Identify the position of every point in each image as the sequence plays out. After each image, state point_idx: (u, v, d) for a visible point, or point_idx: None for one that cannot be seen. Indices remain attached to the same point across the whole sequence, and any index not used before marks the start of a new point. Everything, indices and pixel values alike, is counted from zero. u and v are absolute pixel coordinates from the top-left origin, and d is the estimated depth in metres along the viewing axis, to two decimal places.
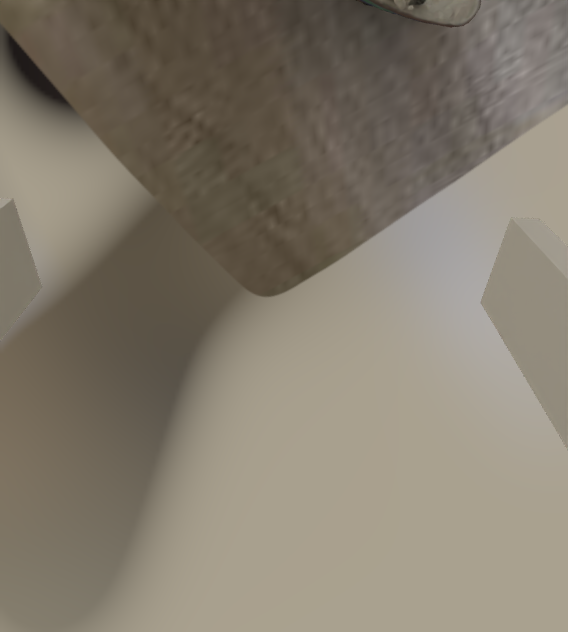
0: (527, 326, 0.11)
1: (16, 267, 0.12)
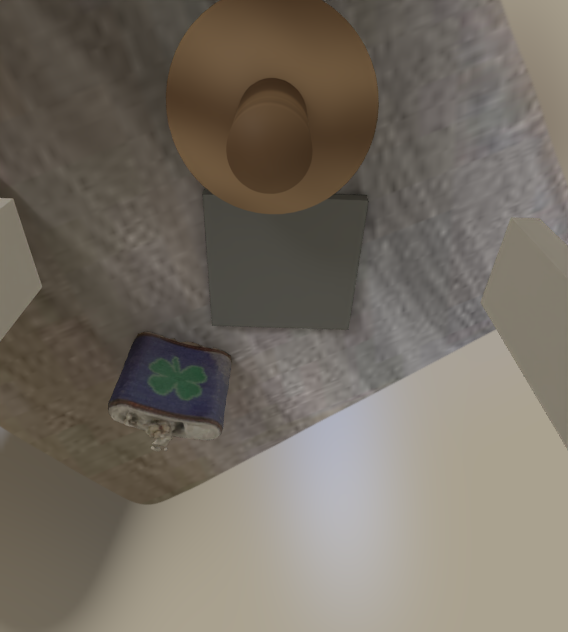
0: (527, 326, 0.11)
1: (16, 267, 0.12)
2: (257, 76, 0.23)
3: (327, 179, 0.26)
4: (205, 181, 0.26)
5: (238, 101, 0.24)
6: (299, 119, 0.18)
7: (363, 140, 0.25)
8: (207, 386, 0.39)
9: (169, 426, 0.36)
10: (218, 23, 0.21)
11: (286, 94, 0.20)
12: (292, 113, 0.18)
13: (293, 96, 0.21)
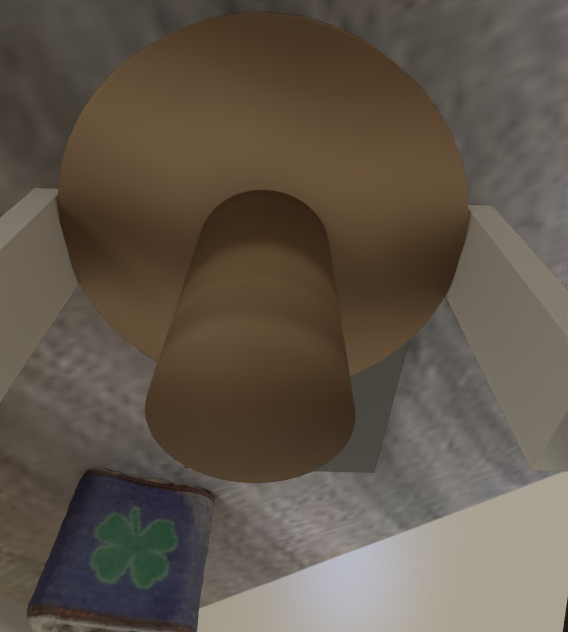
0: (477, 307, 0.12)
1: (65, 255, 0.13)
2: (234, 187, 0.12)
3: (362, 345, 0.15)
4: (147, 346, 0.15)
5: (199, 228, 0.12)
6: (326, 362, 0.07)
7: (431, 289, 0.13)
8: (177, 558, 0.28)
9: None
10: (149, 90, 0.10)
11: (291, 254, 0.09)
12: (309, 355, 0.07)
13: (306, 250, 0.10)
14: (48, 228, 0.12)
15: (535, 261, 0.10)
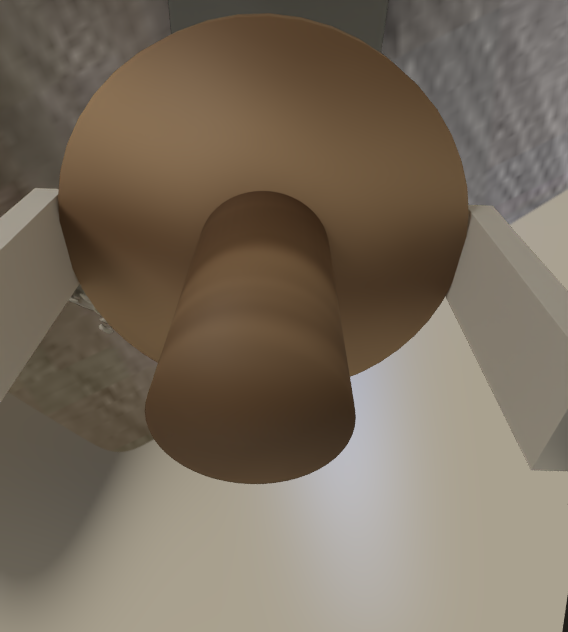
0: (477, 307, 0.12)
1: (65, 254, 0.13)
2: (234, 188, 0.12)
3: (362, 346, 0.15)
4: (148, 347, 0.15)
5: (199, 229, 0.12)
6: (325, 364, 0.07)
7: (431, 290, 0.13)
8: None
9: None
10: (149, 91, 0.10)
11: (291, 255, 0.09)
12: (309, 357, 0.07)
13: (306, 251, 0.10)
14: (48, 228, 0.12)
15: (535, 261, 0.10)
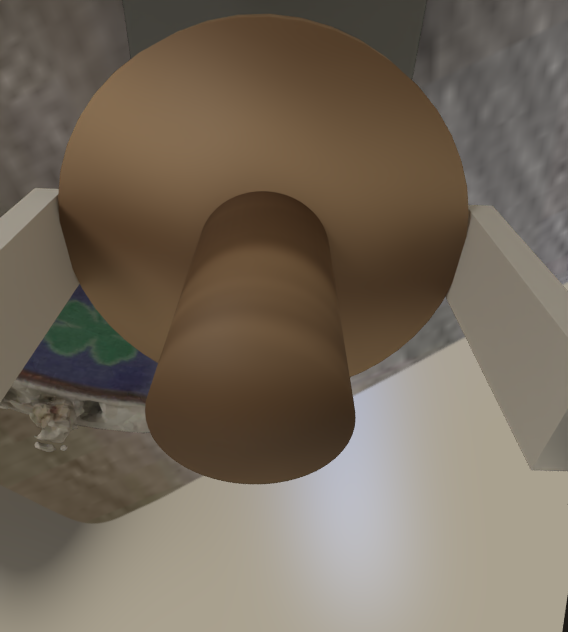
0: (477, 307, 0.12)
1: (65, 255, 0.13)
2: (234, 189, 0.12)
3: (362, 346, 0.15)
4: (147, 347, 0.15)
5: (199, 229, 0.12)
6: (325, 364, 0.07)
7: (431, 291, 0.13)
8: None
9: (68, 407, 0.20)
10: (149, 92, 0.10)
11: (291, 256, 0.09)
12: (308, 357, 0.07)
13: (306, 252, 0.10)
14: (48, 228, 0.12)
15: (535, 261, 0.10)
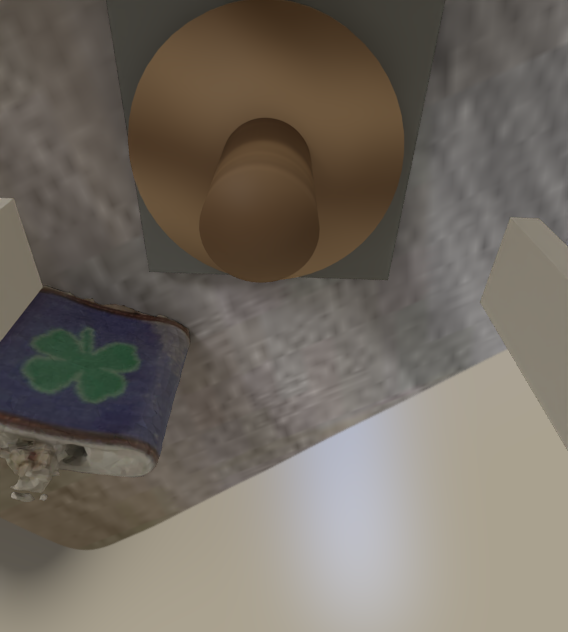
0: (527, 326, 0.11)
1: (17, 267, 0.12)
2: (246, 115, 0.17)
3: (336, 240, 0.21)
4: (182, 241, 0.21)
5: (222, 146, 0.18)
6: (301, 189, 0.13)
7: (383, 194, 0.19)
8: (138, 378, 0.22)
9: (48, 453, 0.18)
10: (193, 48, 0.16)
11: (283, 146, 0.15)
12: (291, 182, 0.13)
13: (293, 147, 0.16)
14: None
15: None
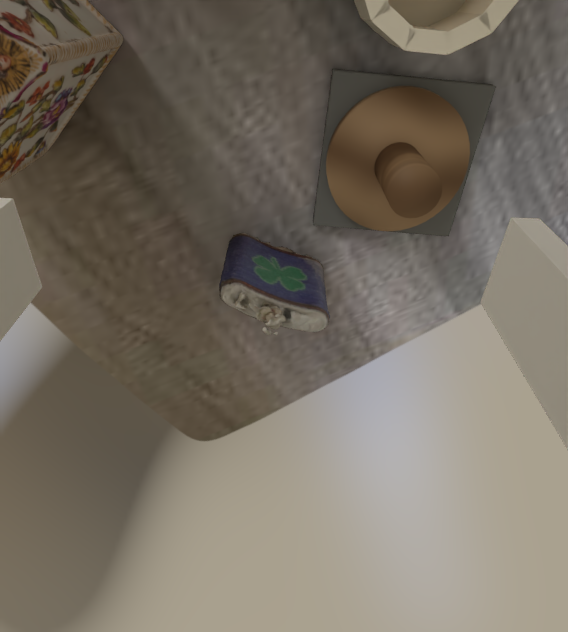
0: (527, 326, 0.11)
1: (16, 267, 0.12)
2: (392, 140, 0.35)
3: None
4: (343, 206, 0.38)
5: (376, 155, 0.35)
6: (437, 174, 0.30)
7: (455, 184, 0.37)
8: (309, 283, 0.39)
9: (280, 309, 0.35)
10: (374, 107, 0.33)
11: (420, 156, 0.32)
12: (434, 171, 0.30)
13: (422, 157, 0.33)
14: None
15: None
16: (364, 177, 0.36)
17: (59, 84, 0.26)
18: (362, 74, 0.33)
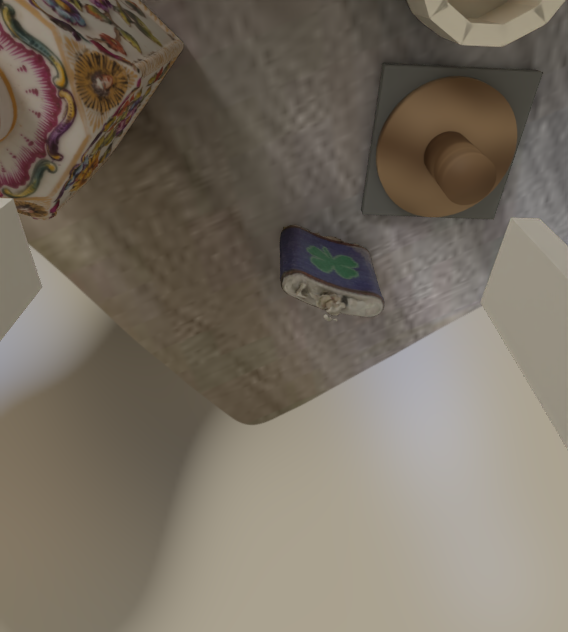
0: (527, 326, 0.11)
1: (16, 267, 0.12)
2: (442, 130, 0.36)
3: None
4: (392, 195, 0.39)
5: (426, 145, 0.37)
6: (491, 162, 0.32)
7: (502, 169, 0.38)
8: (361, 270, 0.41)
9: (339, 297, 0.37)
10: (424, 99, 0.35)
11: (472, 144, 0.34)
12: (489, 159, 0.32)
13: None
14: None
15: None
16: (414, 166, 0.38)
17: (139, 95, 0.28)
18: (412, 67, 0.35)
